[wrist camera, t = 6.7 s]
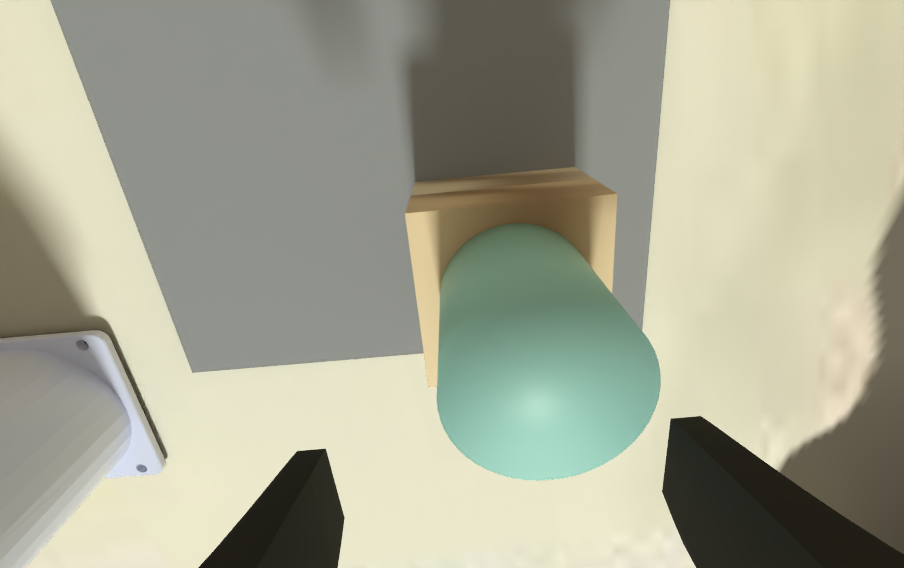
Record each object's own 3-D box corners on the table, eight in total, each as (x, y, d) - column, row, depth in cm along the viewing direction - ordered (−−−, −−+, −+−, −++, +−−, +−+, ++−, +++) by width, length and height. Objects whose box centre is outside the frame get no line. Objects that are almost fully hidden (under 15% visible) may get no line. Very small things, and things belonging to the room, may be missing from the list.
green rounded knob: (449, 366, 15) (451, 489, 10) (430, 233, 13) (421, 311, 9) (590, 350, 15) (654, 469, 10) (590, 213, 13) (668, 283, 8)
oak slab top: (430, 350, 17) (428, 387, 15) (410, 195, 15) (404, 213, 13) (588, 337, 17) (607, 372, 15) (593, 178, 15) (617, 194, 13)
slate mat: (195, 368, 21) (192, 372, 20) (35, -58, 14) (27, -60, 14) (638, 331, 20) (641, 334, 20) (676, -130, 14) (681, -134, 14)
